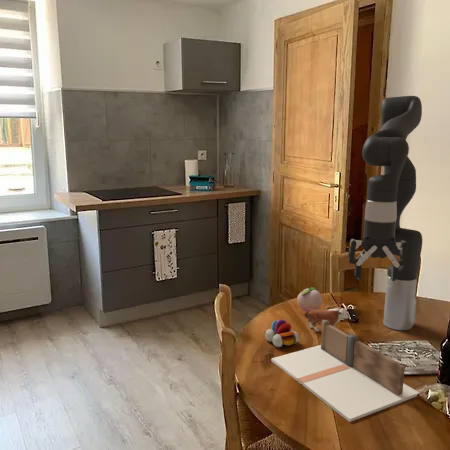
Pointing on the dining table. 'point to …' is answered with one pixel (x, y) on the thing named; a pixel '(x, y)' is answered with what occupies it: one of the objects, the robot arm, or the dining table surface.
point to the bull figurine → (325, 316)
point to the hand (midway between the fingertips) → (375, 279)
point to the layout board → (339, 376)
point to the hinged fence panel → (379, 367)
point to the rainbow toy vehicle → (281, 334)
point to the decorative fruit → (309, 299)
